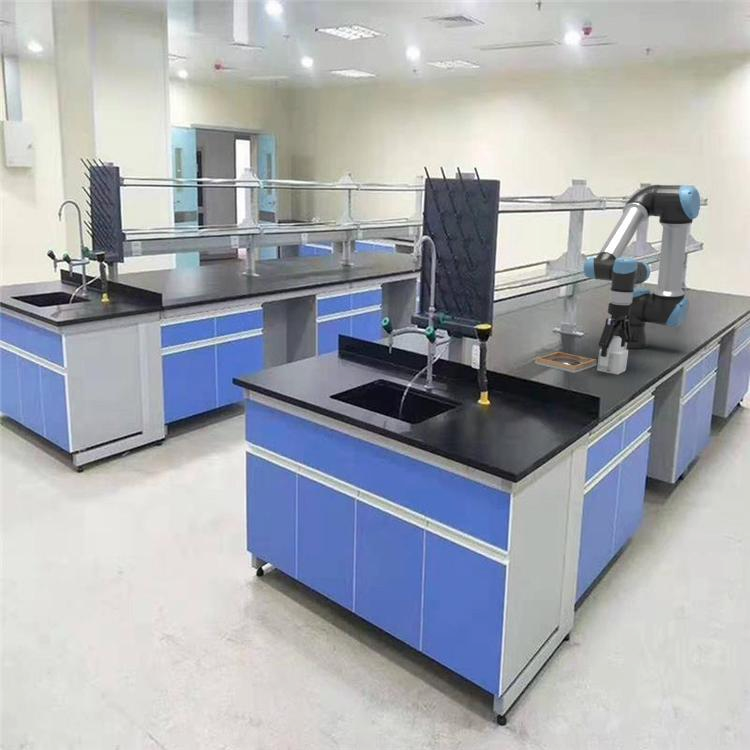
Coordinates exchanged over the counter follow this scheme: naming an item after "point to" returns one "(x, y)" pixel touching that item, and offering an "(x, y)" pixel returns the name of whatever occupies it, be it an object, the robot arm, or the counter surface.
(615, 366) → the container
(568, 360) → the wooden square frame
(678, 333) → the counter surface
